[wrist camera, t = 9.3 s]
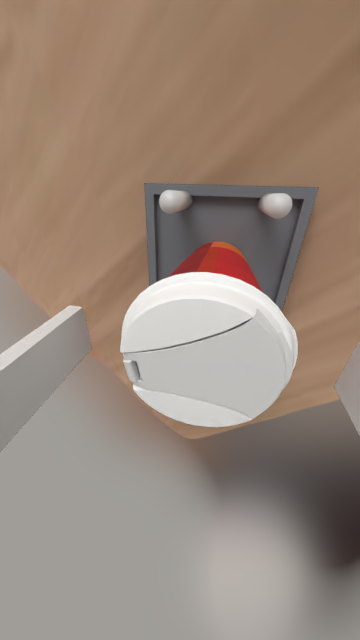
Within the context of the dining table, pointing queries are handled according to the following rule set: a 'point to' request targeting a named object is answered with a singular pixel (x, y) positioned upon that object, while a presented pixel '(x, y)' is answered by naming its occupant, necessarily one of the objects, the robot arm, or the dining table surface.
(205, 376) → the coffee cup
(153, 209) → the tray
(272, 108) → the dining table surface
